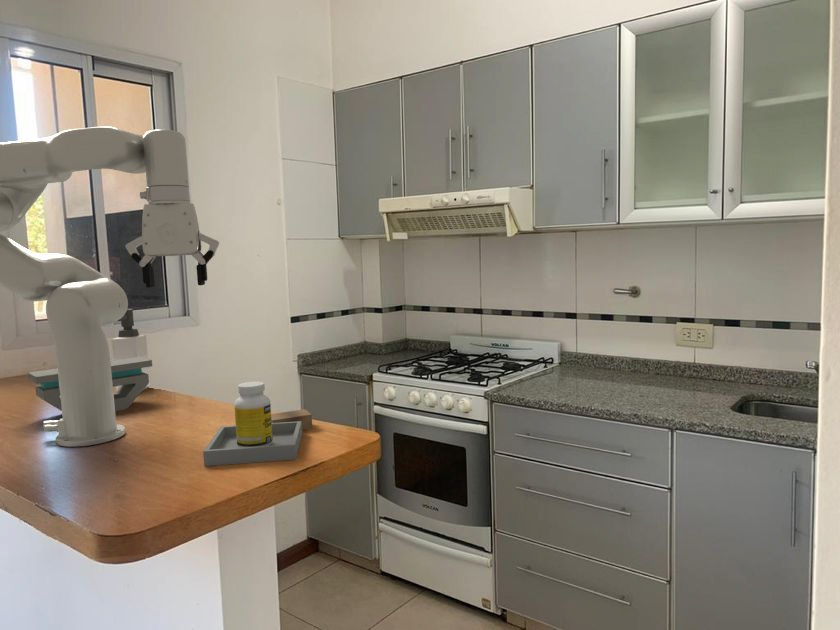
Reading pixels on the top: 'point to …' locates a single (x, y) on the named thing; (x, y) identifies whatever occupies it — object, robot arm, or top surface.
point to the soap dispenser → (129, 343)
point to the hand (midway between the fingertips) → (176, 286)
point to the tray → (280, 449)
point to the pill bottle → (253, 416)
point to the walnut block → (294, 418)
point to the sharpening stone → (123, 375)
